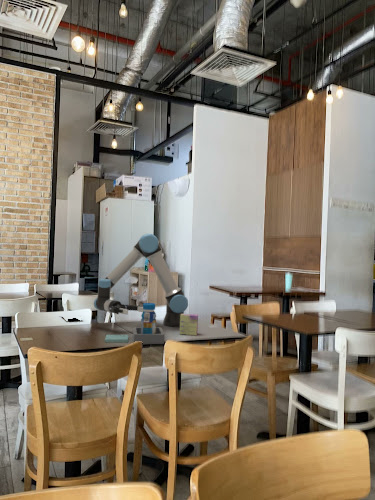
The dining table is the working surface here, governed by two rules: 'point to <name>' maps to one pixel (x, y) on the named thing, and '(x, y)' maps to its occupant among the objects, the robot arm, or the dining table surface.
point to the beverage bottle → (148, 319)
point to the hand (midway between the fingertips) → (136, 311)
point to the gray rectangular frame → (148, 336)
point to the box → (189, 324)
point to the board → (116, 338)
